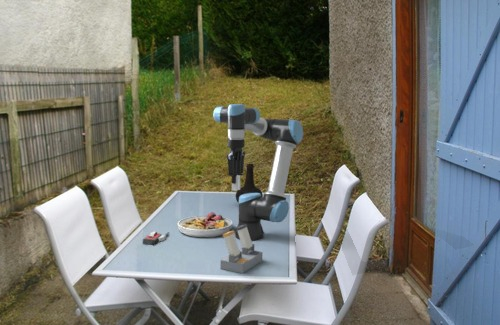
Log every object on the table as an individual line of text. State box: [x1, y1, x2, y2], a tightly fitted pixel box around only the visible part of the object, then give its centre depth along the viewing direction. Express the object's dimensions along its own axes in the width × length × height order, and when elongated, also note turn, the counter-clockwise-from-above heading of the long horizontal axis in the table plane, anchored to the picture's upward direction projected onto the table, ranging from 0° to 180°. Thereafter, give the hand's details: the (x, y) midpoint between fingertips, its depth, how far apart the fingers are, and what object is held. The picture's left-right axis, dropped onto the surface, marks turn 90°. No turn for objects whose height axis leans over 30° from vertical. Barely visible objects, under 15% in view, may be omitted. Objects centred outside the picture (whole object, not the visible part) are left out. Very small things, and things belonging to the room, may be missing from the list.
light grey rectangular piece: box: [235, 224, 253, 251], centre depth 243 cm, size 3×5×12 cm, turn 153°
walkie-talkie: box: [142, 231, 170, 246], centre depth 275 cm, size 9×4×20 cm
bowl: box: [177, 211, 233, 238], centre depth 292 cm, size 30×30×8 cm
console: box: [220, 243, 263, 274], centre depth 238 cm, size 11×19×7 cm, turn 152°
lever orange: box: [222, 230, 240, 259], centre depth 233 cm, size 3×5×12 cm, turn 152°
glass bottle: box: [235, 163, 264, 203], centre depth 351 cm, size 18×18×28 cm
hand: (235, 189), depth 242 cm, fingers open, 2 cm apart
